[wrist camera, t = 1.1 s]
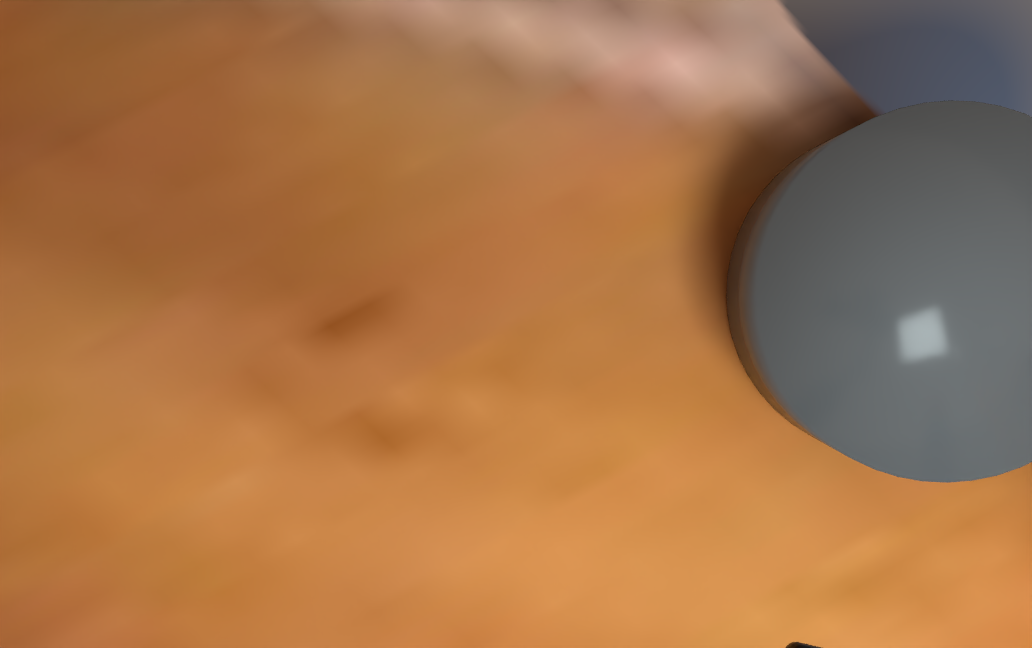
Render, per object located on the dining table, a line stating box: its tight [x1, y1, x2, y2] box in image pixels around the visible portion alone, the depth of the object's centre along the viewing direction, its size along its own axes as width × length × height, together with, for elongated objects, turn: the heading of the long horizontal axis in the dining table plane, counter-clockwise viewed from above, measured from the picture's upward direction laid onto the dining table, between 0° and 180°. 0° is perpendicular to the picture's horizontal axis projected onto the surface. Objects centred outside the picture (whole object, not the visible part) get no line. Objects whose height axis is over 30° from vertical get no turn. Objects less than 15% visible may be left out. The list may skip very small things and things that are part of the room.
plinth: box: [726, 101, 1032, 482], centre depth 20 cm, size 9×9×3 cm
